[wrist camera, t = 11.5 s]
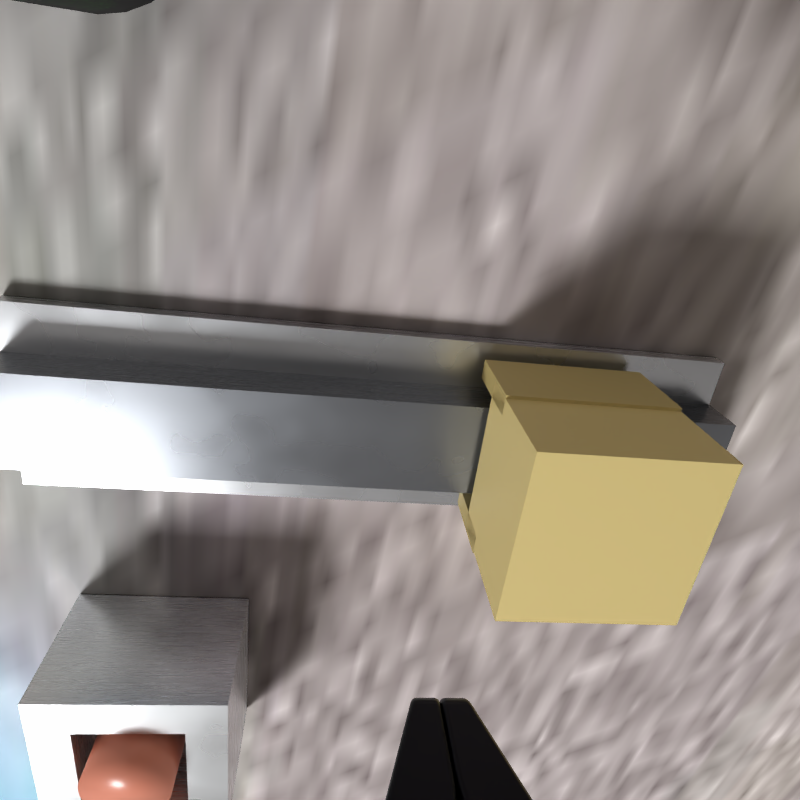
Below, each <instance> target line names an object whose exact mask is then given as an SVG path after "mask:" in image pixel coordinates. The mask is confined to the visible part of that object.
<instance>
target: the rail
mask: <svg viewBox="0 0 800 800" xmlns="http://www.w3.org/2000/svg"><path fill="white" fill-rule="evenodd" d="M0 349H1V351H0V469H9V470H21V473H22V479H23V484H34V485H54V486H74V487H95V488H115V489H135V490H156V491H176V492H196V493H217V494H237V495H257V496H278V497H298V498H318V499H339V500H359V501H379V502H400V503H420V504H440V505H458V498H459V493H471V494H472V492H473V487H474V482H475V477H476V473H477V468H478V463H479V458H480V453H481V448H482V443H483V438H484V433H485V428H486V423H487V418H488V413H489V408H490V403H491V398H492V396H491V394H490V393H489V391H488V389H487V387H486V385H485V383H484V382H483V380H482V378H481V377H482V372H483V367H484V362H485V360H497V361H509V362H521V363H533V364H545V365H558V366H570V367H582V368H594V369H606V370H618V371H630V372H640V373H641V374H642V375H643V376H645V377H646V378H647V379H648V380H649V381H650V382H652V383H653V384H654V385H655V386H656V387H658V388H659V389H660V390H661V391H662V392H664V393H665V394H666V395H667V396H668V397H669V398H671V399H672V400H673V401H674V402H675V403H677V404H678V405H679V406H680V407H681V408H682V411H681V412H682V413H683V414H685V415H686V416H687V417H688V418H689V419H690V420H692V421H693V422H694V423H695V424H696V425H697V426H699V427H700V428H701V429H702V430H703V431H704V432H706V433H707V434H708V435H709V436H710V437H711V438H713V439H714V440H715V441H716V442H717V443H719V444H720V445H721V446H722V447H723V448H724V449H727V447H728V444H729V442H730V439H731V437H732V434H733V432H734V429H735V427H736V425H734V424H733V423H732V422H730V421H729V420H728V419H727V418H725V417H724V416H723V415H721V414H720V413H719V412H717V411H716V410H715V409H714V408H712V407H711V406H710V405H709V404H710V401H711V398H712V396H713V393H714V390H715V388H716V385H717V382H718V380H719V377H720V374H721V371H722V369H723V366H724V363H723V362H722V361H720V360H718V359H717V358H713V357H701V356H690V355H678V354H667V353H655V352H644V351H632V350H621V349H609V348H598V347H587V346H575V345H564V344H552V343H541V342H529V341H518V340H506V339H495V338H483V337H472V336H461V335H449V334H438V333H426V332H415V331H403V330H392V329H380V328H369V327H357V326H346V325H334V324H323V323H312V322H300V321H289V320H277V319H266V318H254V317H243V316H231V315H220V314H208V313H197V312H186V311H174V310H163V309H151V308H140V307H128V306H117V305H105V304H94V303H82V302H71V301H60V300H48V299H37V298H25V297H14V296H2V295H1V296H0Z"/></svg>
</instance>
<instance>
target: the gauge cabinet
mask: <svg viewBox="0 0 800 800" xmlns="http://www.w3.org/2000/svg"><path fill="white" fill-rule="evenodd" d="M248 616H249V599H231V598H194V597H157V596H120V595H83V594H79V596H78V598H77V600H76V602H75V603H74V605H73V607H72V609H71V611H70V612H69V614H68V616H67V618H66V620H65V621H64V623H63V625H62V627H61V629H60V630H59V632H58V634H57V636H56V638H55V639H54V641H53V643H52V645H51V647H50V648H49V650H48V652H47V654H46V655H45V657H44V659H43V661H42V663H41V664H40V666H39V668H38V670H37V672H36V673H35V675H34V677H33V679H32V681H31V682H30V684H29V686H28V688H27V690H26V691H25V693H24V695H23V697H22V699H21V700H20V702H19V704H18V707H19V711H20V716H21V721H22V725H23V730H24V735H25V739H26V744H27V749H28V754H29V758H30V763H31V768H32V772H33V777H34V782H35V786H36V791H37V796H38V800H82V799H81V798H80V796H79V793H78V782H79V780H80V777H81V775H82V772H83V770H84V767H85V765H86V762H87V760H88V757H89V755H90V752H91V750H92V747H93V745H94V742H95V740H96V737H97V735H98V734H185V744H184V748H183V752H182V756H181V759H180V763H179V767H178V771H177V775H176V779H175V783H174V787H173V791H172V795H171V798H170V800H232V797H233V791H234V785H235V779H236V773H237V766H238V760H239V754H240V748H241V742H242V736H243V730H244V723H245V717H246V711H247V673H248Z"/></svg>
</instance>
